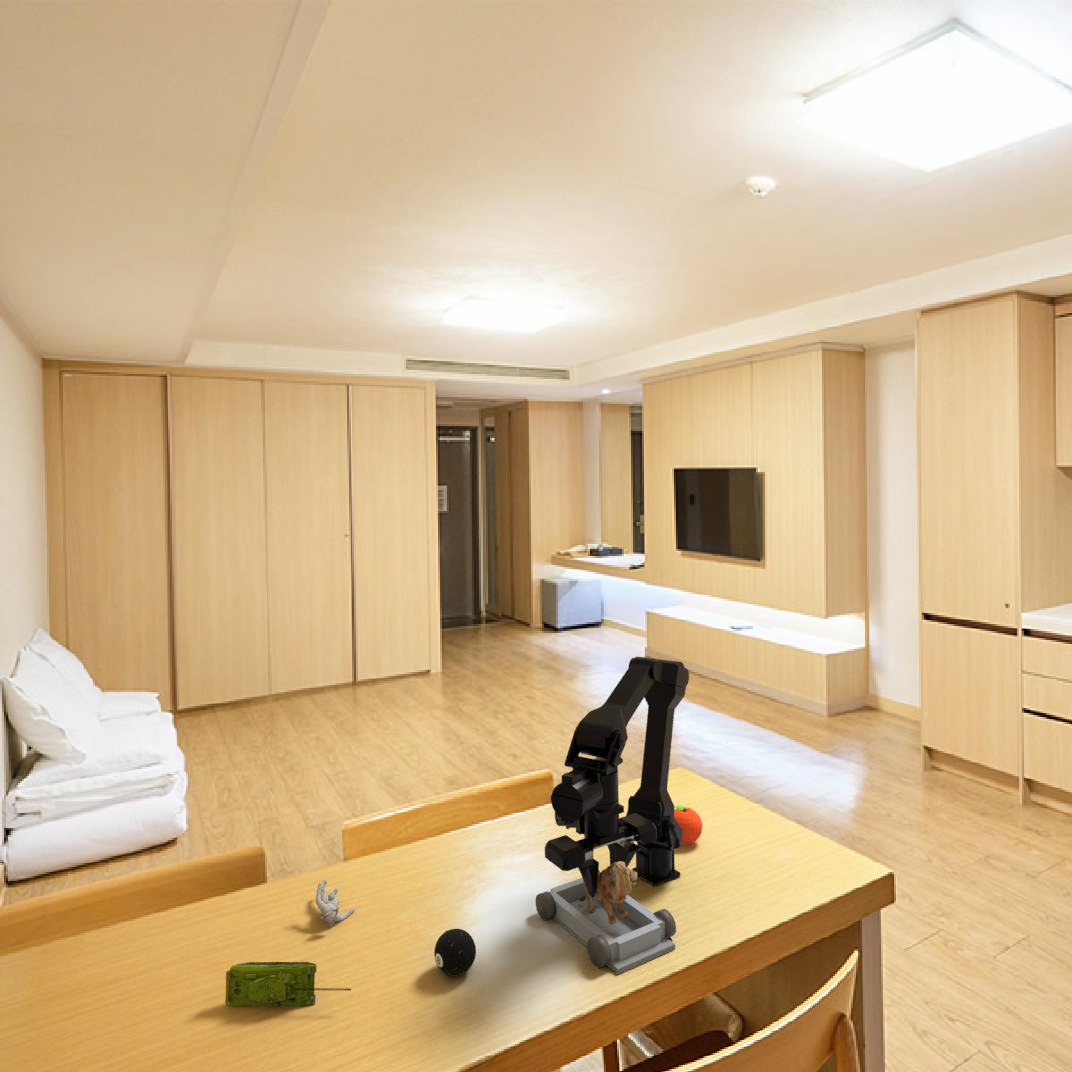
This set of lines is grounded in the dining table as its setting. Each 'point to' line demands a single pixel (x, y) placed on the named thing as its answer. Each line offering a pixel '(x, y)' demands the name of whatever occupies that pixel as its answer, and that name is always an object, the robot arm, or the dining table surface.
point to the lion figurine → (612, 889)
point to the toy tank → (271, 984)
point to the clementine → (688, 824)
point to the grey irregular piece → (329, 904)
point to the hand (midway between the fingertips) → (603, 891)
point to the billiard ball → (455, 952)
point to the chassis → (609, 927)
